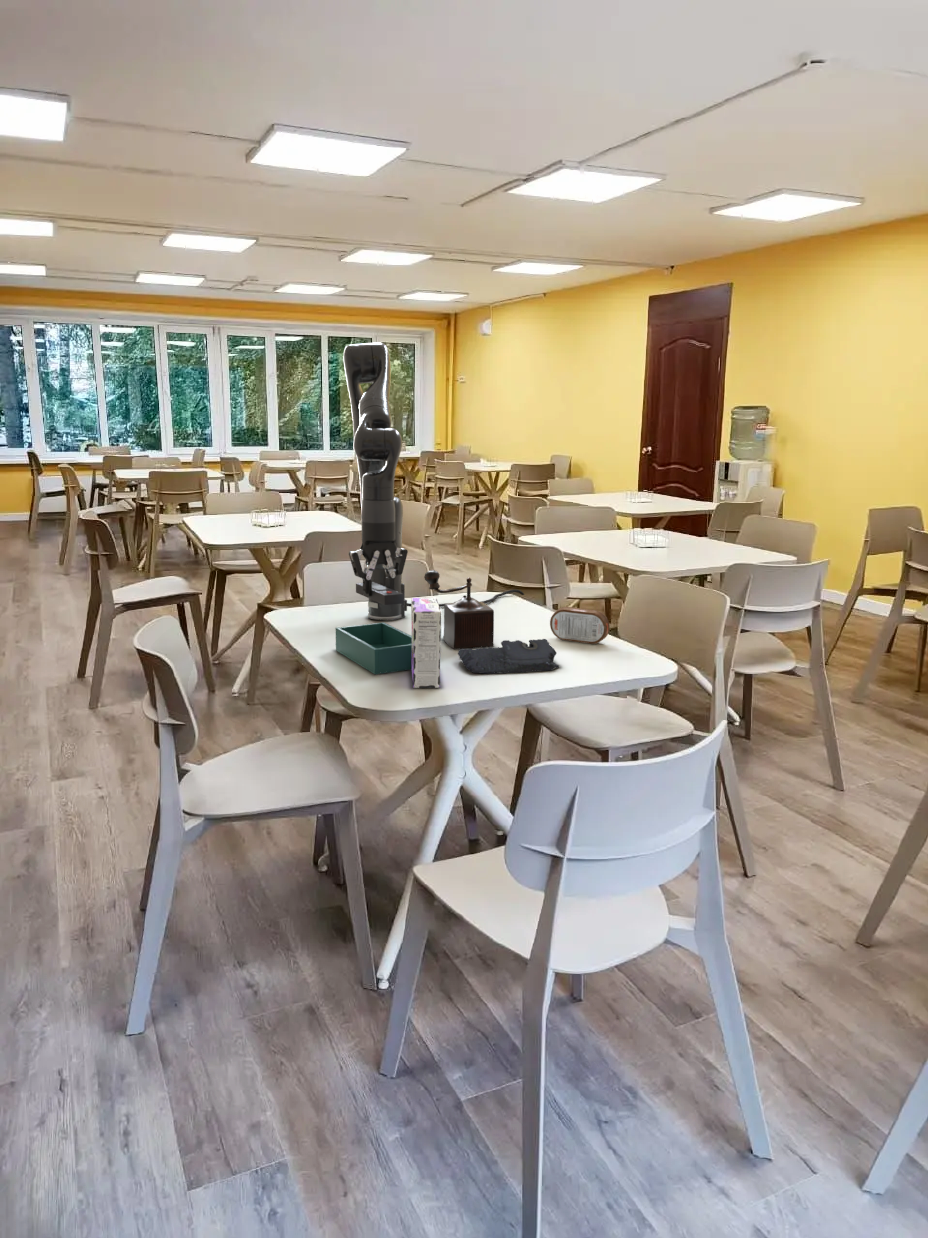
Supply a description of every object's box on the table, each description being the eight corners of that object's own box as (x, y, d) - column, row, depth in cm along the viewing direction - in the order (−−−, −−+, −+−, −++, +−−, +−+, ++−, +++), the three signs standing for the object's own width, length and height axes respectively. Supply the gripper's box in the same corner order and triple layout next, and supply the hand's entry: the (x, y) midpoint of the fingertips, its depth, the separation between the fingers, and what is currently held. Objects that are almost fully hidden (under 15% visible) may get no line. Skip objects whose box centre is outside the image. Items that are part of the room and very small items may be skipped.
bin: (384, 644, 217) (383, 622, 216) (426, 667, 198) (426, 643, 197) (335, 650, 211) (335, 627, 210) (374, 674, 192) (374, 649, 191)
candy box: (410, 669, 196) (410, 596, 192) (437, 669, 196) (438, 596, 193) (412, 688, 183) (412, 610, 179) (440, 688, 183) (441, 610, 179)
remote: (373, 590, 209) (373, 580, 209) (403, 603, 196) (403, 592, 195) (355, 592, 207) (355, 582, 207) (384, 605, 194) (384, 594, 193)
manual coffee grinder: (481, 636, 226) (482, 566, 222) (494, 647, 216) (496, 574, 212) (422, 639, 222) (422, 568, 218) (432, 650, 212) (433, 576, 208)
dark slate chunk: (452, 657, 207) (452, 637, 205) (541, 652, 212) (542, 633, 211) (468, 675, 192) (469, 654, 191) (564, 670, 197) (565, 649, 196)
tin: (609, 643, 221) (610, 610, 219) (605, 646, 218) (607, 613, 216) (552, 636, 227) (553, 604, 225) (547, 639, 224) (549, 606, 222)
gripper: (355, 522, 191) (356, 600, 195) (414, 519, 198) (414, 595, 202) (342, 519, 197) (343, 594, 201) (400, 516, 204) (400, 589, 208)
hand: (378, 594), depth 201 cm, fingers closed on remote, 4 cm apart
